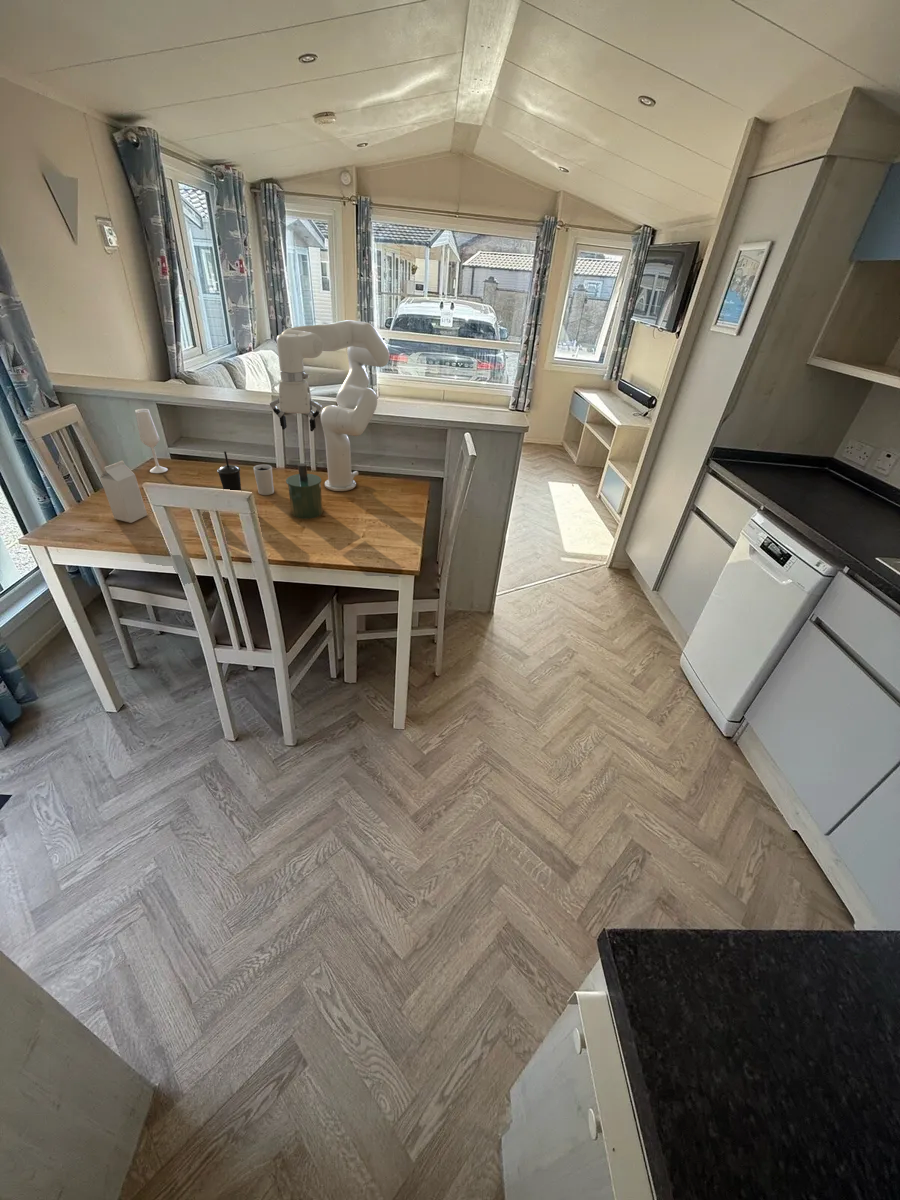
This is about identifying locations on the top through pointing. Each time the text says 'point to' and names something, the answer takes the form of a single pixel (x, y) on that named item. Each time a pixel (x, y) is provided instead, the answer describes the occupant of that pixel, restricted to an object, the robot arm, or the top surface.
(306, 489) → the canister
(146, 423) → the champagne flute
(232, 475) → the drinking cup
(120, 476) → the milk carton
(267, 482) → the drinking glass
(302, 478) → the lid
